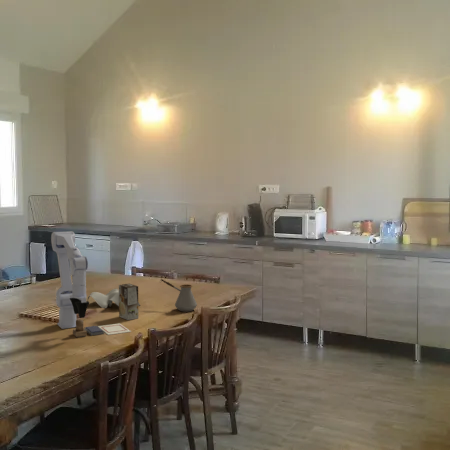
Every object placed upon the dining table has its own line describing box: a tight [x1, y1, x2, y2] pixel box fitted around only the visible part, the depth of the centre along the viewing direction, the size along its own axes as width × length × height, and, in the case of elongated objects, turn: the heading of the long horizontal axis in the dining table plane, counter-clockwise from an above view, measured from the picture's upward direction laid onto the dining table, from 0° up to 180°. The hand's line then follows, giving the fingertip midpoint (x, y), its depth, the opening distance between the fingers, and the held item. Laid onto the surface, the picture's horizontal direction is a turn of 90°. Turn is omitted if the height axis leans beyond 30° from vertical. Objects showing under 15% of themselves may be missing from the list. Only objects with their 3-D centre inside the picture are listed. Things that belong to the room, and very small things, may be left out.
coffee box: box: [118, 283, 139, 321], centre depth 272 cm, size 9×6×16 cm
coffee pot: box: [159, 278, 198, 312], centre depth 291 cm, size 21×12×15 cm, turn 65°
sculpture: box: [87, 288, 141, 309], centre depth 297 cm, size 25×19×10 cm
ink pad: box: [83, 325, 105, 337], centre depth 247 cm, size 10×6×2 cm, turn 30°
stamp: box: [72, 319, 88, 338], centre depth 242 cm, size 6×4×7 cm
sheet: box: [97, 323, 132, 336], centre depth 252 cm, size 15×10×1 cm
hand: (79, 315), depth 241 cm, fingers open, 7 cm apart
